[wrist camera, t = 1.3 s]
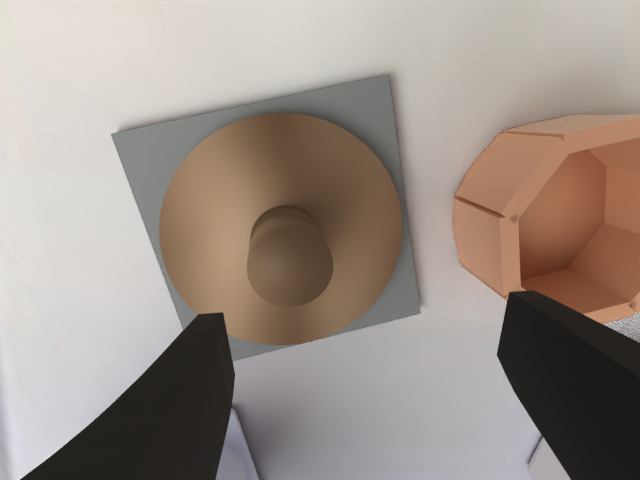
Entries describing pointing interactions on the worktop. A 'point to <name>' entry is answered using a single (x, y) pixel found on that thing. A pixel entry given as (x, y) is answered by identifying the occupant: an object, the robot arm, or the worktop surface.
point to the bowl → (557, 213)
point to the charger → (546, 464)
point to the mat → (327, 103)
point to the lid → (281, 228)
